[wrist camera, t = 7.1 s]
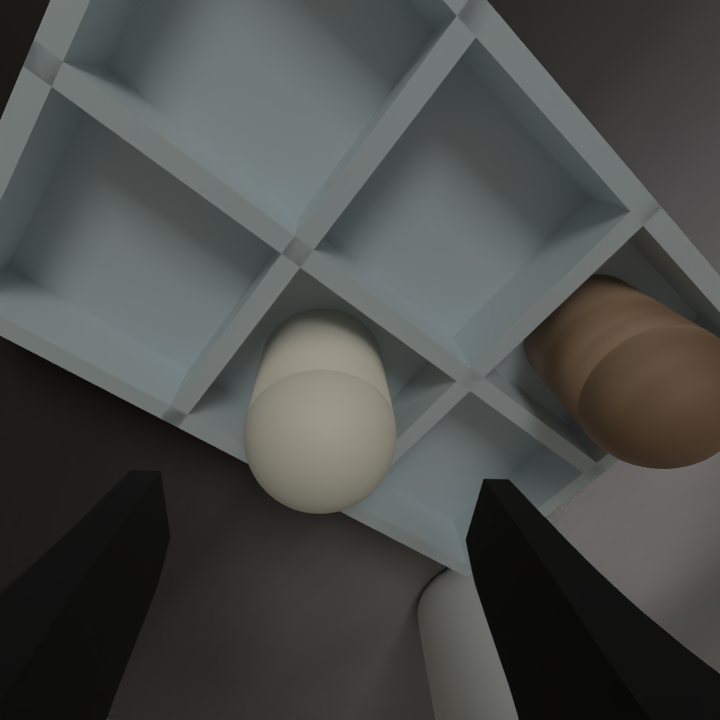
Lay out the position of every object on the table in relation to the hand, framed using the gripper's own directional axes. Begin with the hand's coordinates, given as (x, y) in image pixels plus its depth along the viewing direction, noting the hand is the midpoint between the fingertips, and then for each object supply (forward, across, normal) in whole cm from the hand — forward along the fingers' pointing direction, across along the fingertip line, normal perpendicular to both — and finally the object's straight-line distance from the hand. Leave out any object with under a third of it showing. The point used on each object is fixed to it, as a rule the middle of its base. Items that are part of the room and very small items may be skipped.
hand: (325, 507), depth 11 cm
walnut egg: (+7, -9, -2) cm, 12 cm away
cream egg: (+7, 0, 0) cm, 7 cm away
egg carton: (+8, -2, -3) cm, 8 cm away
